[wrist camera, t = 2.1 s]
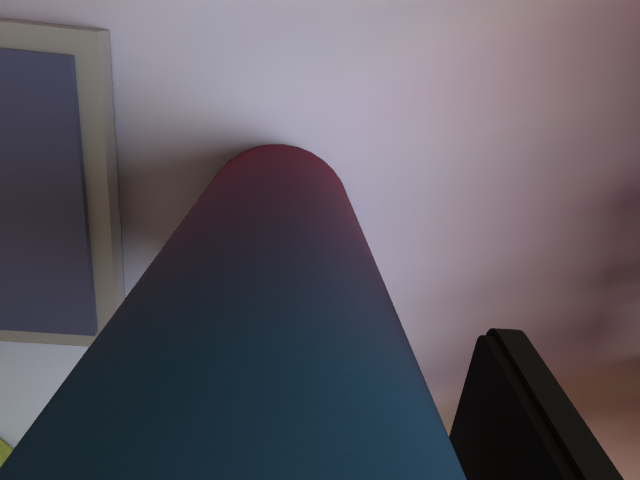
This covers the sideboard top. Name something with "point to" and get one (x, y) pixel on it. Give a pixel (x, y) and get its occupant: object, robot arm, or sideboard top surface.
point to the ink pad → (57, 185)
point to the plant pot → (4, 451)
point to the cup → (249, 352)
